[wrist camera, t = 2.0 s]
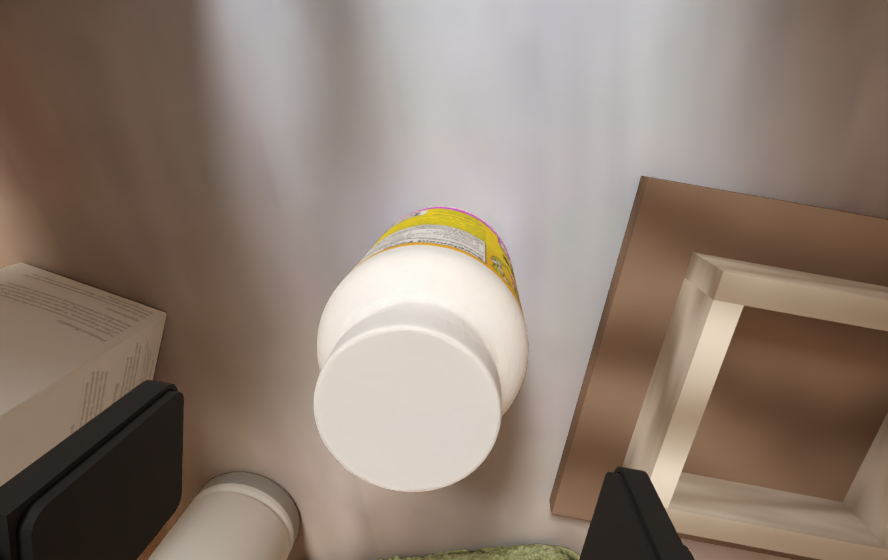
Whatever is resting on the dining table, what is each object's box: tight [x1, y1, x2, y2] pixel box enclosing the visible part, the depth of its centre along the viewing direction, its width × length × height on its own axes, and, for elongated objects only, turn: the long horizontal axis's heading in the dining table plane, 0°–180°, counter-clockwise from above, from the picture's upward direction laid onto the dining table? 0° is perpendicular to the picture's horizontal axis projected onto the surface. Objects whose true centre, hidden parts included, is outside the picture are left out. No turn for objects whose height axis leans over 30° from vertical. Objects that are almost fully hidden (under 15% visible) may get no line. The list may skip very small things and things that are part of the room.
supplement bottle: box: [314, 206, 528, 492], centre depth 18 cm, size 7×7×13 cm
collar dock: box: [550, 176, 888, 560], centre depth 23 cm, size 18×18×4 cm
